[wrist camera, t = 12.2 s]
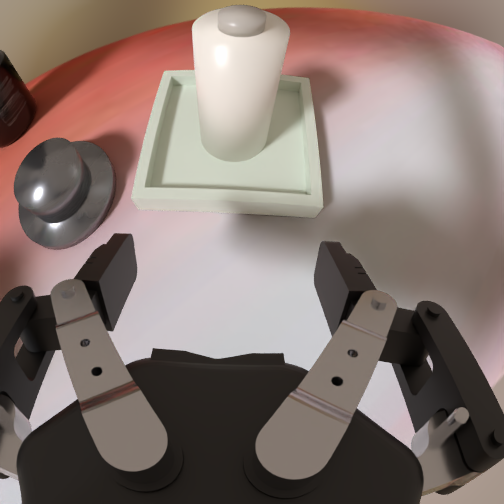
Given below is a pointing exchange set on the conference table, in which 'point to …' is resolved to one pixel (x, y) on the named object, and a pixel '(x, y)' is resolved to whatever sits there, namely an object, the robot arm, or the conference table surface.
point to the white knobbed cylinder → (237, 78)
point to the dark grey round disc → (64, 192)
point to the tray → (229, 173)
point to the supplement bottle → (13, 103)
